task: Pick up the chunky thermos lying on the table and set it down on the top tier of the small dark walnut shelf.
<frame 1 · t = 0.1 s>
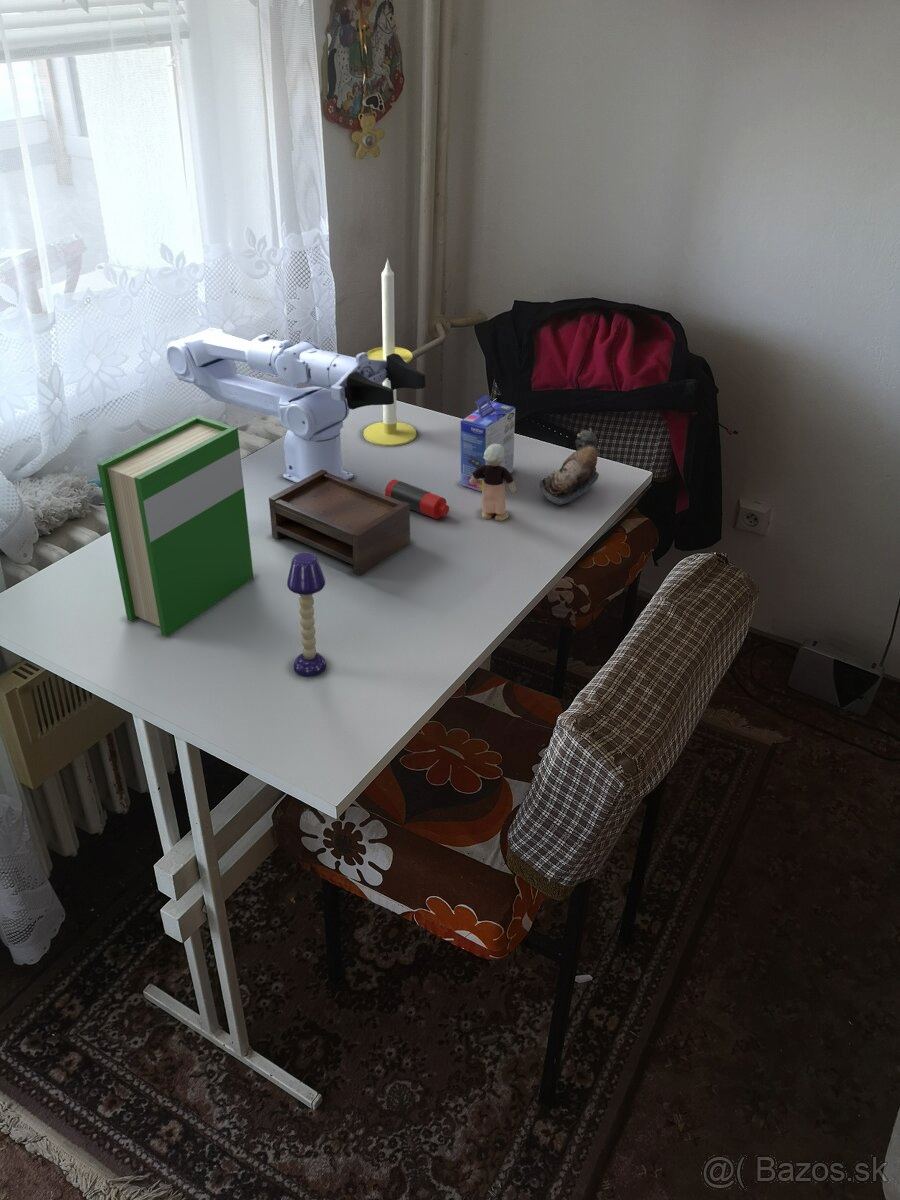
hand: (408, 389, 155), 22 cm above the table, tool horizontal, fingers open, 7 cm apart
toy lamp: (311, 667, 135), on the table
ink cartridge box: (486, 479, 178), on the table
grandmother figurine: (491, 516, 168), on the table
shelf: (341, 540, 161), on the table
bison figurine: (567, 495, 174), on the table
hardback book: (192, 599, 147), on the table
thermos: (415, 508, 169), on the table
candle: (390, 435, 192), on the table
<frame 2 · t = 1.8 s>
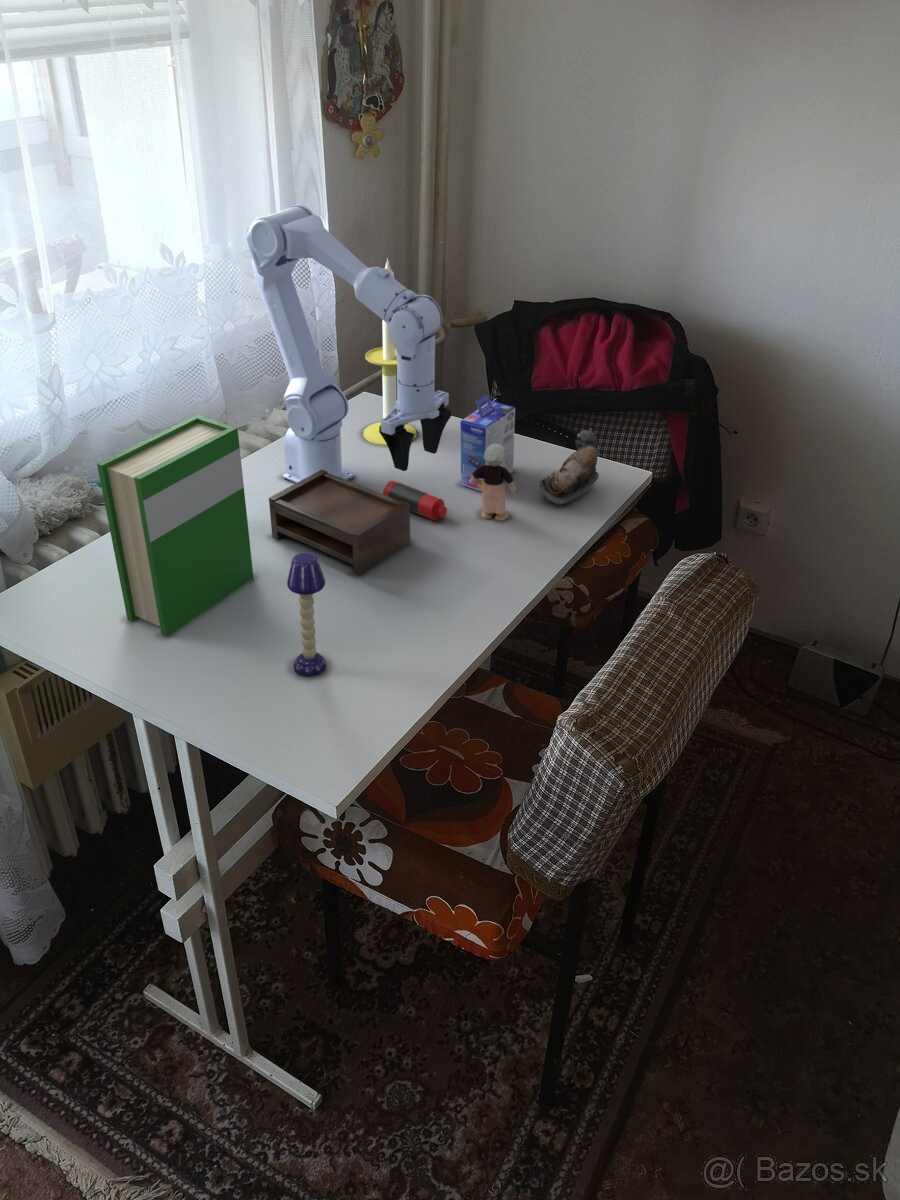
hand: (415, 460, 164), 9 cm above the table, tool pointing down, fingers open, 7 cm apart
thermos: (415, 508, 169), on the table, tilted 19°
everything else where it was.
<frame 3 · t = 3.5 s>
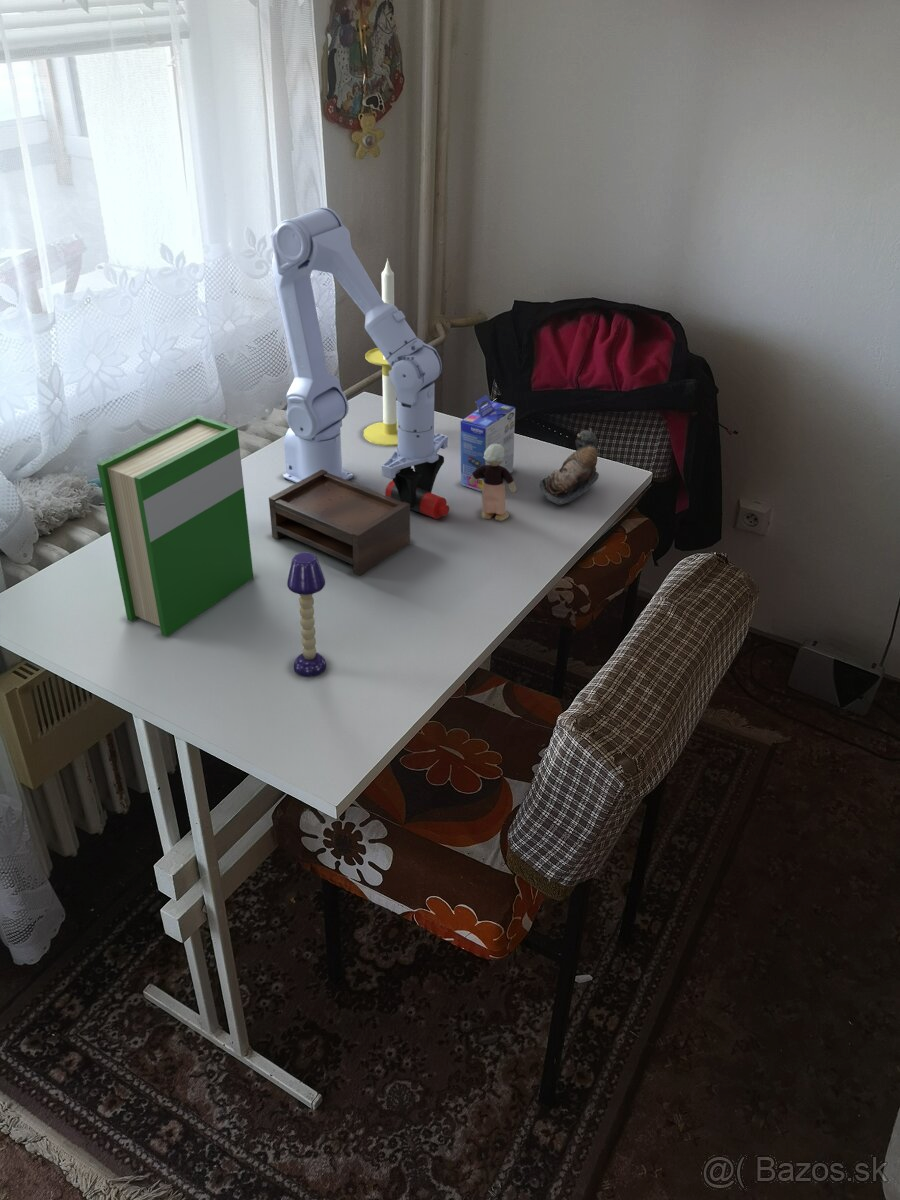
hand: (415, 501, 168), 1 cm above the table, tool pointing down, fingers closed on thermos, 4 cm apart
thermos: (415, 508, 169), on the table, touching gripper
everything else where it was.
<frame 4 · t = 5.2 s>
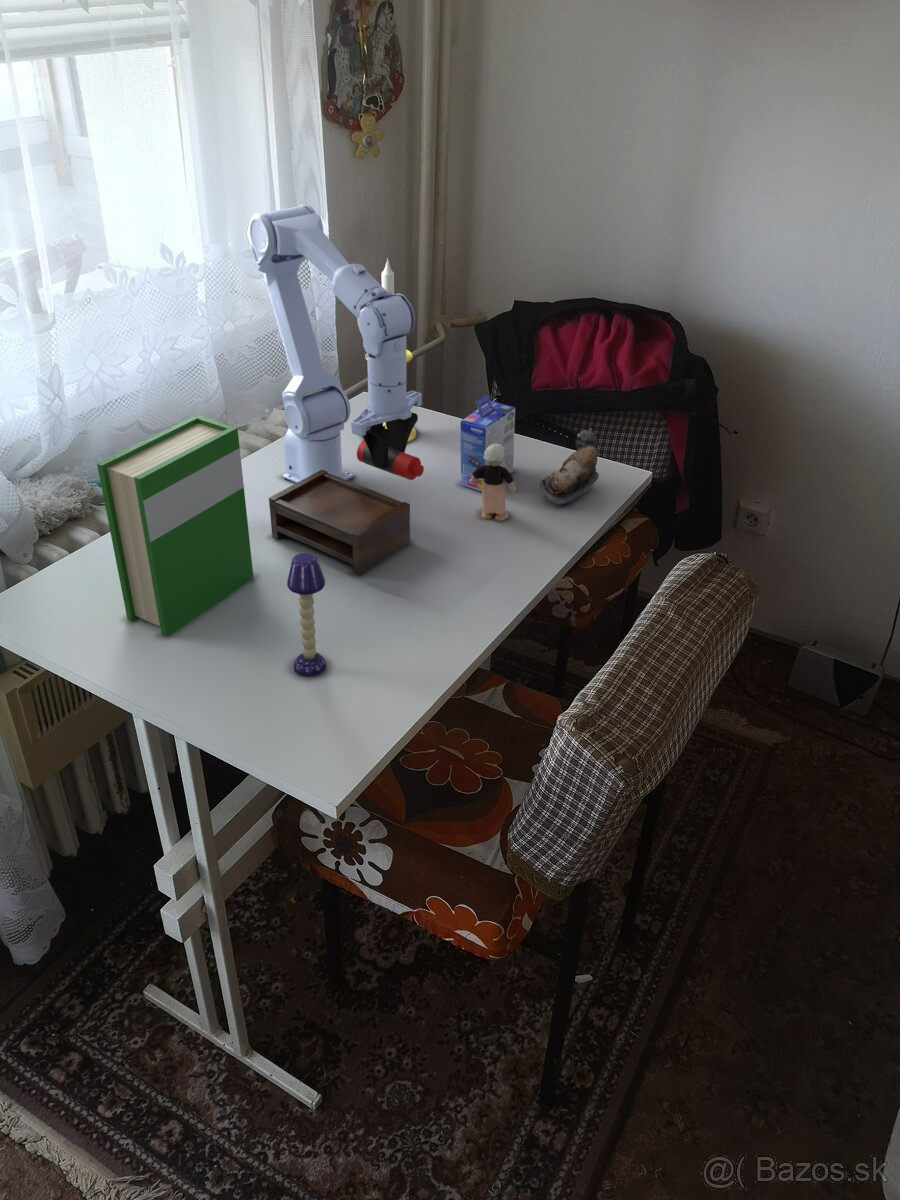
hand: (388, 461, 160), 10 cm above the table, tool pointing down, fingers closed on thermos, 4 cm apart
thermos: (388, 469, 161), point 9 cm above the table, touching gripper
everything else where it was.
when the fingers open (7 cm above the table, at t = 7.2 s): thermos stays where it is, resting on shelf.
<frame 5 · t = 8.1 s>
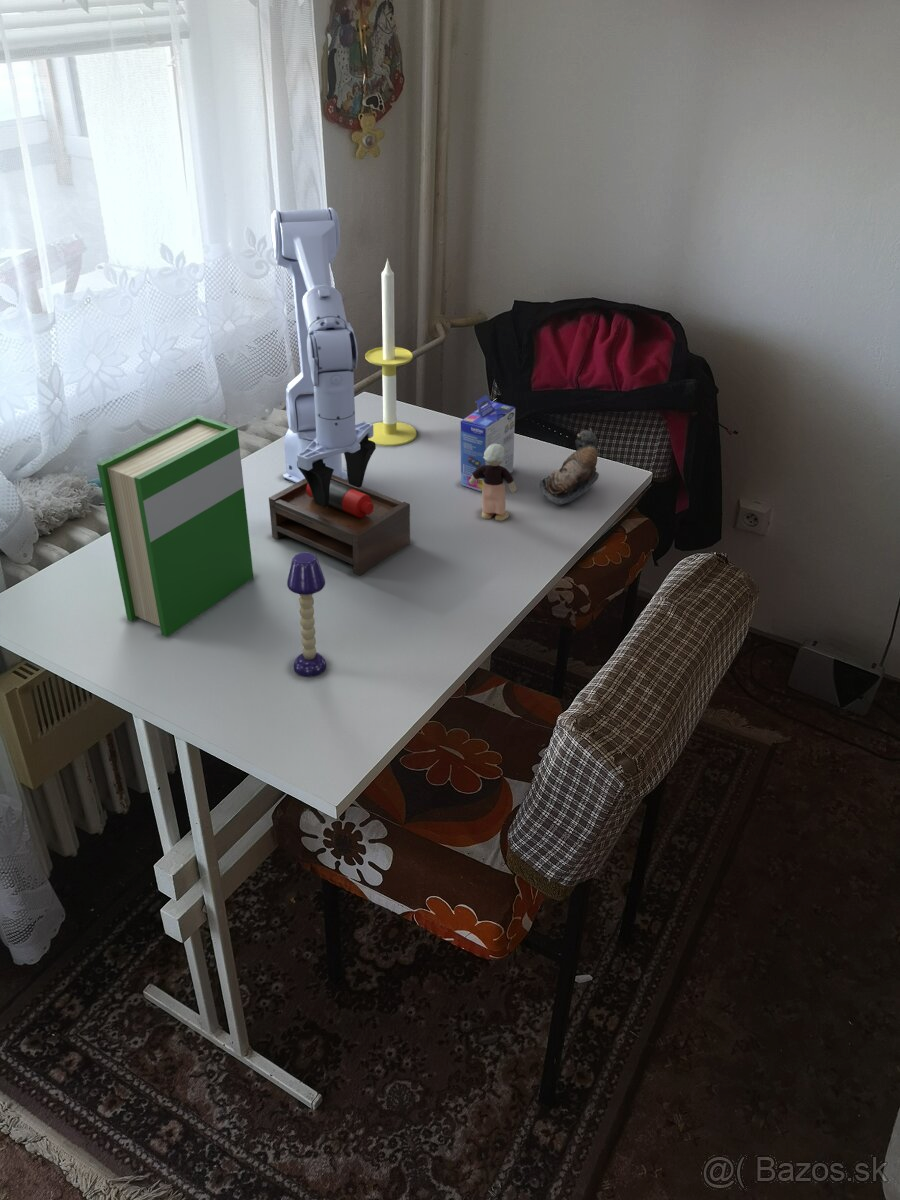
hand: (338, 494, 156), 8 cm above the table, tool pointing down, fingers open, 7 cm apart
thermos: (339, 506, 157), point 6 cm above the table, tilted 5°, touching shelf
everything else where it was.
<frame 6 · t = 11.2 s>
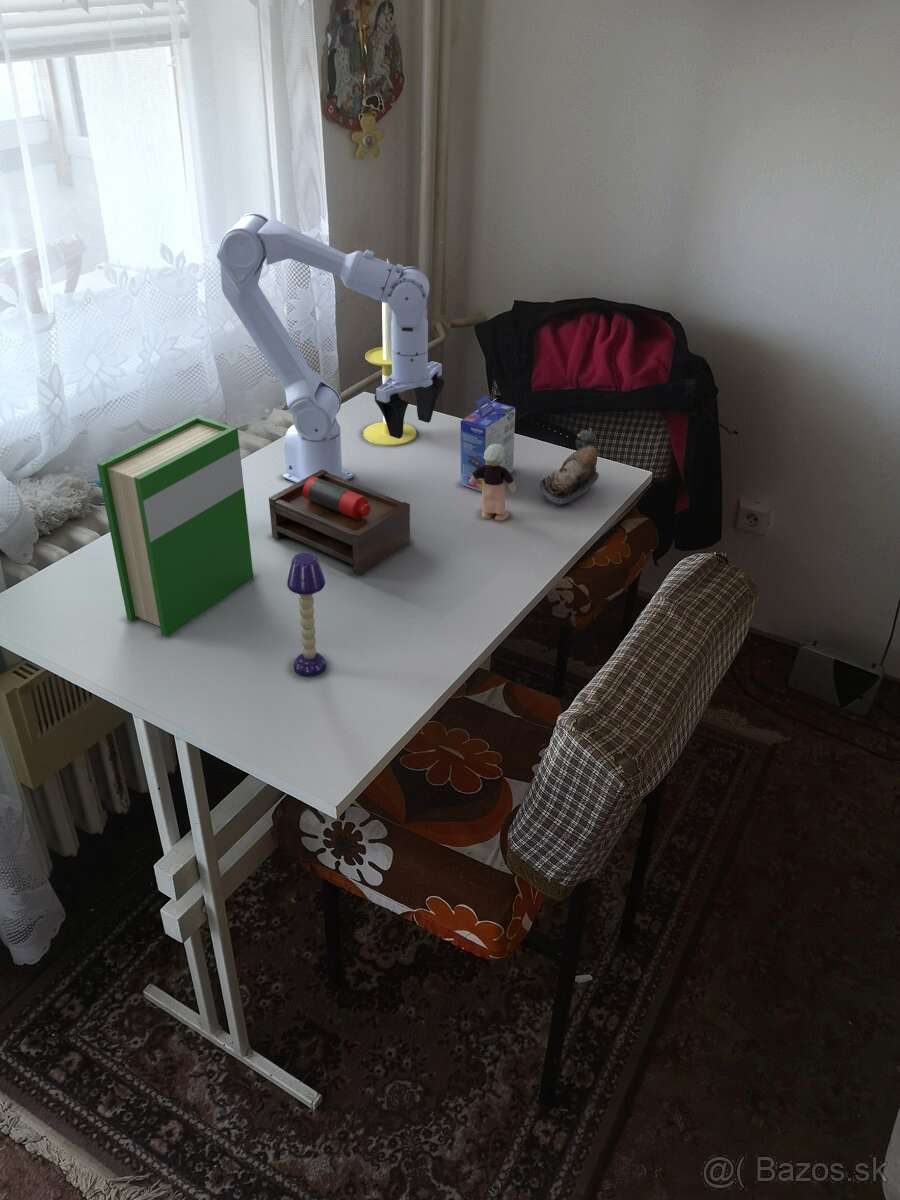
hand: (410, 428, 170), 10 cm above the table, tool pointing down, fingers open, 7 cm apart
thermos: (339, 505, 157), point 6 cm above the table, tilted 28°, touching shelf
everything else where it was.
at the end: thermos inside the target area on the shelf (0.1 cm from its centre), point 6.3 cm above the shelf's base; the gripper is holding nothing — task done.
